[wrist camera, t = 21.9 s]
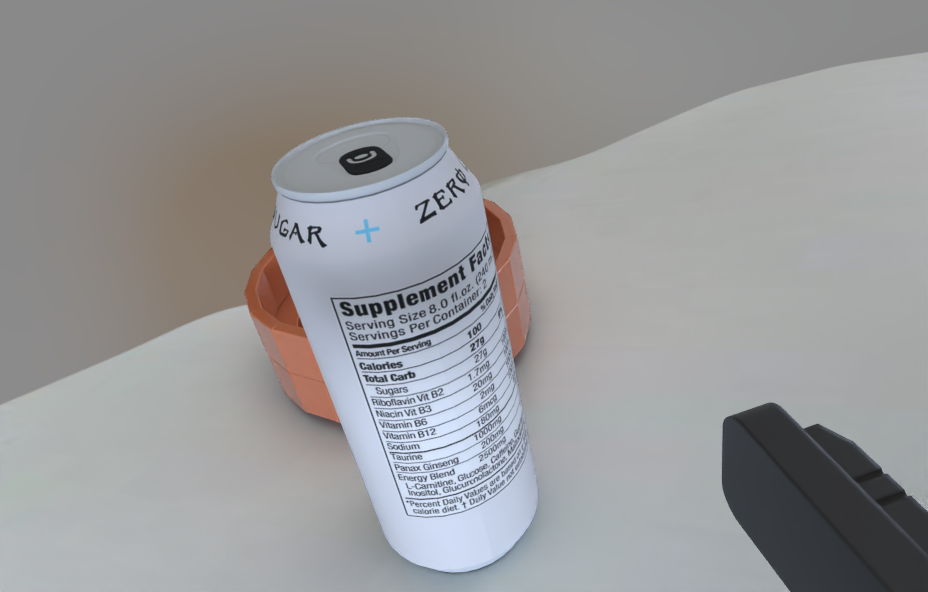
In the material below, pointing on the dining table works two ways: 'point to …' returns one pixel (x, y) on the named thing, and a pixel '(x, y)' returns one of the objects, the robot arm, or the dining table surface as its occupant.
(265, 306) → the bowl
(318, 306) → the energy drink can
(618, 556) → the dining table surface
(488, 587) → the dining table surface
